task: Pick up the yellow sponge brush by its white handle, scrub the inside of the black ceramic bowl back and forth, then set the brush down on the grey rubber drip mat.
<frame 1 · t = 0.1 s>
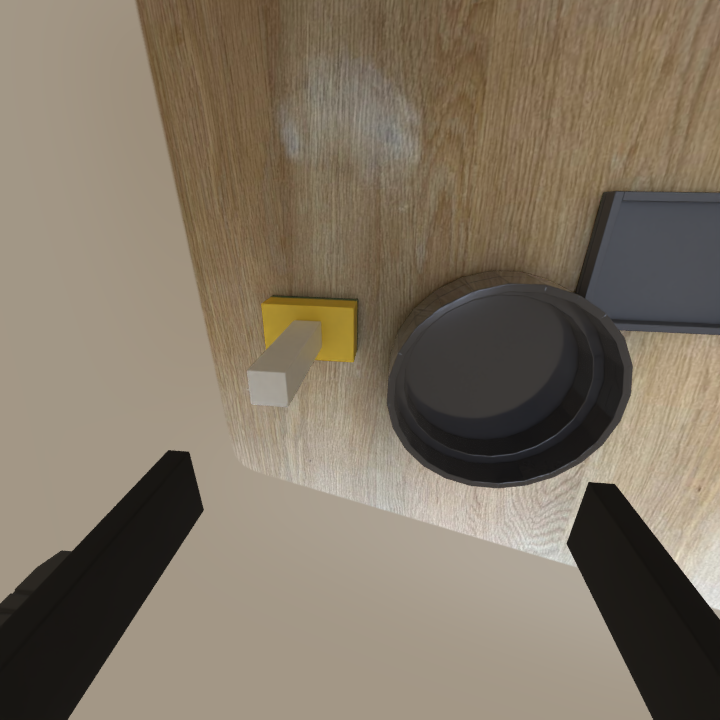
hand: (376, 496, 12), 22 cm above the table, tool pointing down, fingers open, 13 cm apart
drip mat: (671, 264, 27), on the table
sponge brush: (315, 323, 32), on the table
bowl: (485, 367, 32), on the table
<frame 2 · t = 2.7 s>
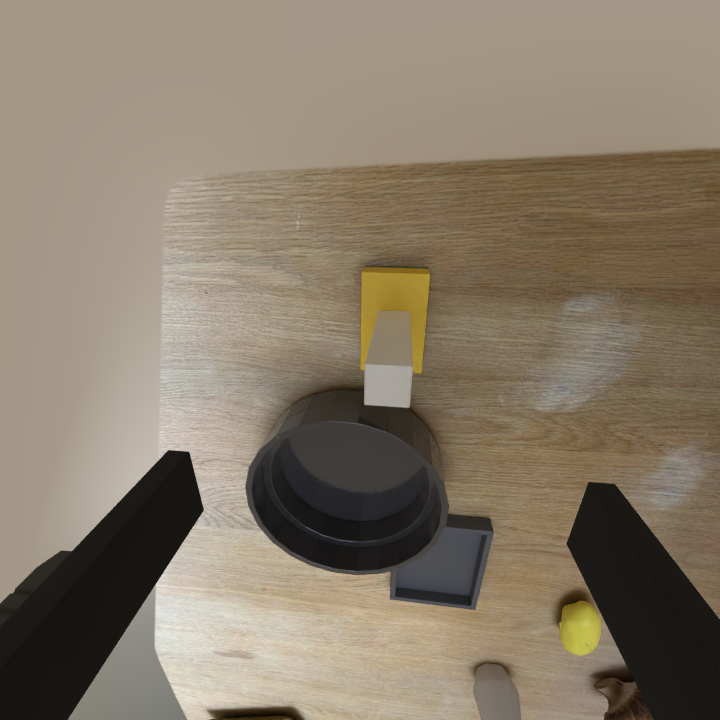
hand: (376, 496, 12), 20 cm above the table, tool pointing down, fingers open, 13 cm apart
salt shaker: (491, 669, 49), on the table
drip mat: (436, 554, 40), on the table
mushroom: (618, 678, 46), on the table
sponge brush: (394, 314, 29), on the table
yellow potato: (572, 608, 42), on the table
bowl: (352, 462, 36), on the table
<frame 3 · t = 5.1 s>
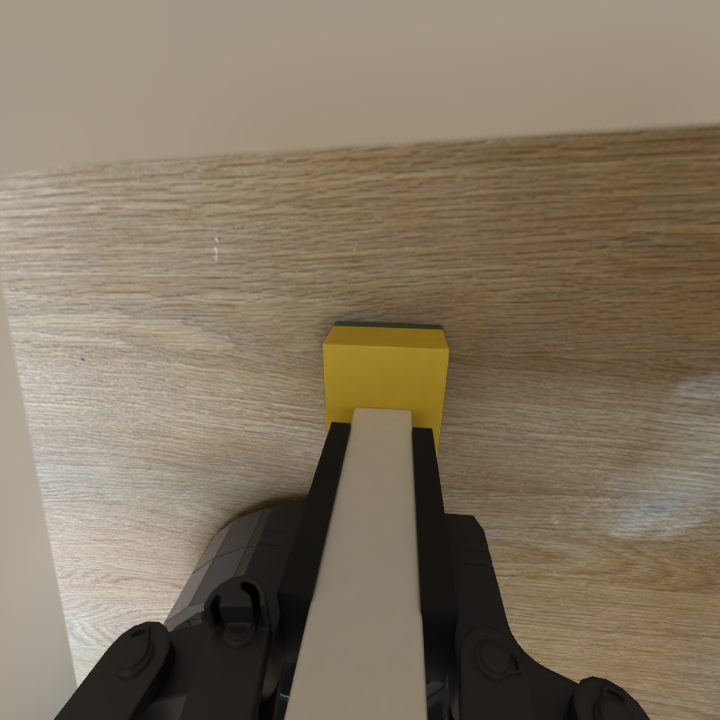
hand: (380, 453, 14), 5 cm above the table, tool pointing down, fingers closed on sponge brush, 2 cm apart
sponge brush: (385, 396, 18), on the table, touching gripper
bowl: (328, 589, 25), on the table
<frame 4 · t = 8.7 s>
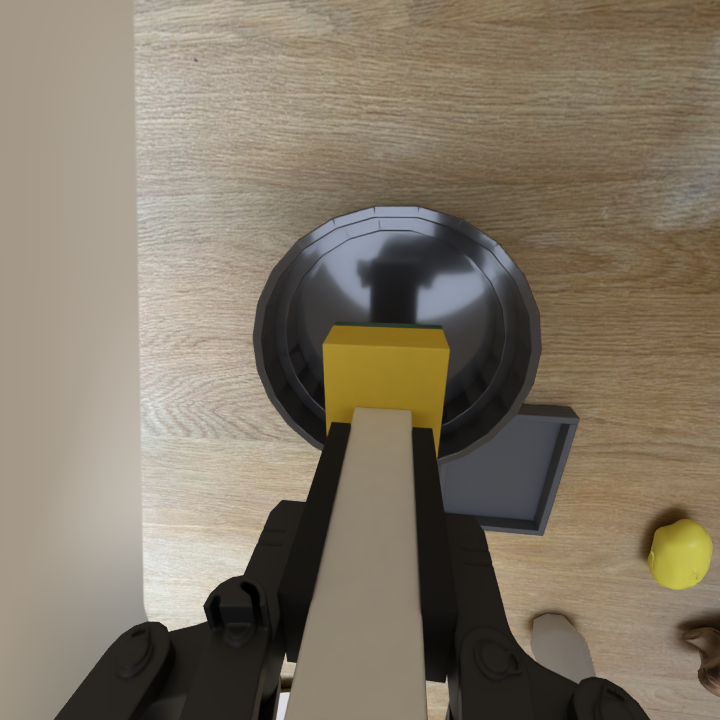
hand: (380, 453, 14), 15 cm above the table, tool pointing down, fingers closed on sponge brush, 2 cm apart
salt shaker: (550, 622, 40), on the table
plate: (281, 709, 56), on the table
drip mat: (494, 464, 32), on the table
mushroom: (710, 629, 38), on the table
sponge brush: (385, 396, 18), point 11 cm above the table, touching gripper
yellow potato: (663, 534, 33), on the table
bowl: (392, 330, 28), on the table
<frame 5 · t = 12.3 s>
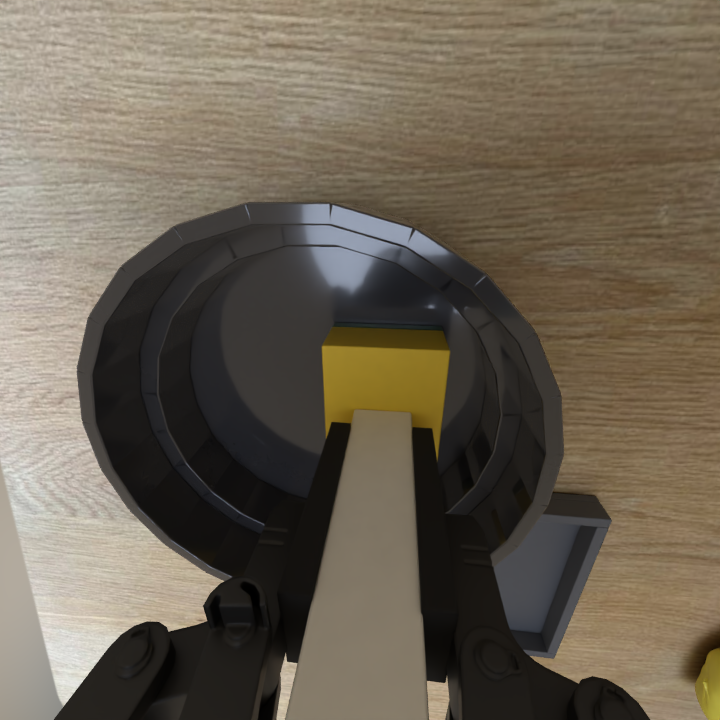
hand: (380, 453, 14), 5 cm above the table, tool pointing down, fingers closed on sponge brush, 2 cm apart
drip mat: (486, 563, 23), on the table
sponge brush: (384, 398, 18), point 1 cm above the table, touching gripper
yellow potato: (717, 652, 24), on the table
bowl: (335, 387, 19), on the table
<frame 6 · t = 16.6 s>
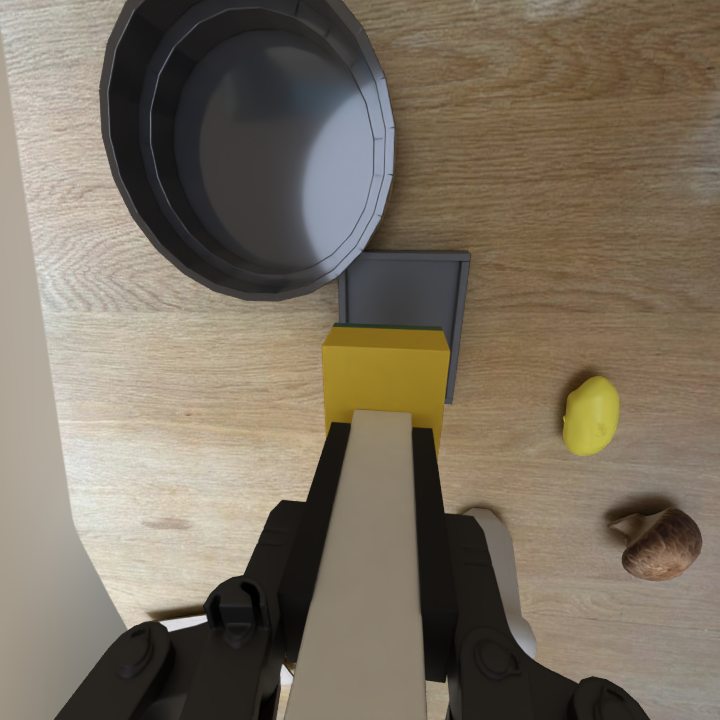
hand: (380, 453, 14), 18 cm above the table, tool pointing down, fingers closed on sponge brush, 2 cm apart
salt shaker: (477, 519, 39), on the table
plate: (225, 639, 55), on the table
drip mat: (399, 327, 30), on the table
mushroom: (638, 518, 36), on the table
sponge brush: (384, 398, 18), point 14 cm above the table, touching gripper
yellow potato: (579, 405, 32), on the table
bowl: (276, 165, 26), on the table
when the fingers open (5 cm above the table, at t = 19.7 s): sponge brush stays where it is, resting on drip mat.
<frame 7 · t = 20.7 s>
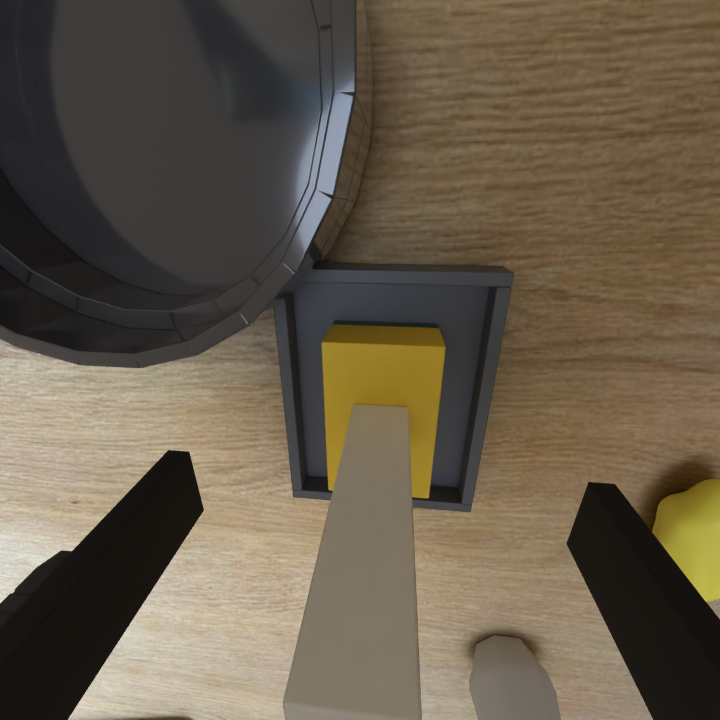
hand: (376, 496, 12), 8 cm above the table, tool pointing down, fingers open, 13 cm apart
salt shaker: (501, 647, 27), on the table
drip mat: (384, 389, 18), on the table
sponge brush: (382, 394, 18), resting on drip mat
yellow potato: (672, 510, 20), on the table
bowl: (155, 108, 14), on the table
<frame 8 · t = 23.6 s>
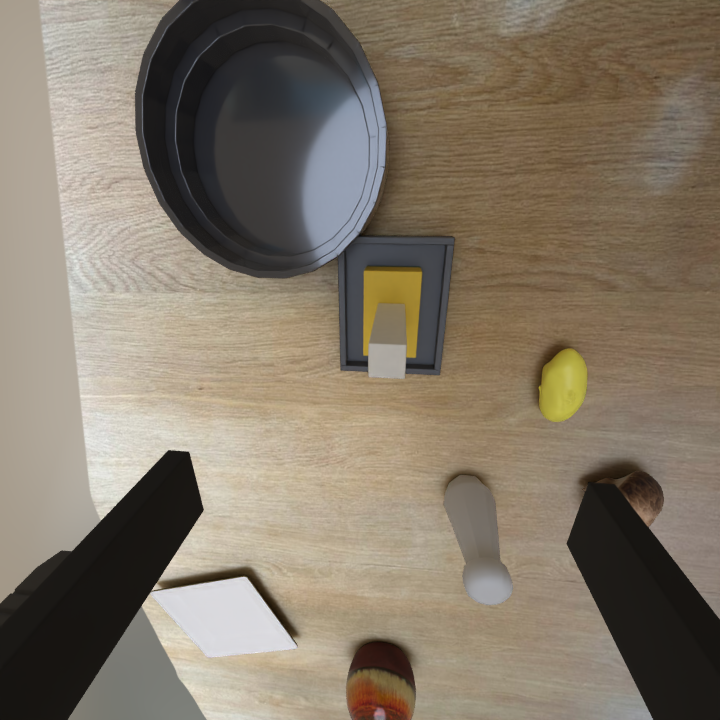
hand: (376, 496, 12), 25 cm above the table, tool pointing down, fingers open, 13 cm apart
salt shaker: (465, 486, 42), on the table
vase: (382, 653, 59), on the table
plate: (230, 607, 59), on the table
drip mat: (392, 305, 34), on the table
mushroom: (609, 483, 40), on the table
sponge brush: (391, 307, 34), resting on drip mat
yellow potato: (554, 377, 35), on the table
bowl: (284, 159, 30), on the table
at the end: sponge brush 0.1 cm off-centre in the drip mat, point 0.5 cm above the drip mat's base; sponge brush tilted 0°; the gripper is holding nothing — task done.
